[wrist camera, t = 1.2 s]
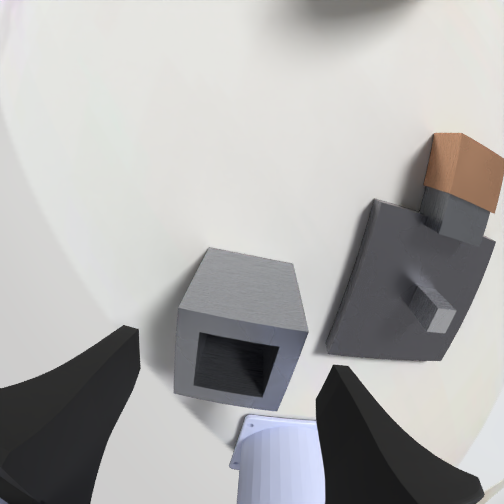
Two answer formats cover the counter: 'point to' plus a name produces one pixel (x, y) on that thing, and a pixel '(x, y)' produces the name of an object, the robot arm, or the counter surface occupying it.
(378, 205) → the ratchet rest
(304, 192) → the counter surface
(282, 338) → the hollow square tube
